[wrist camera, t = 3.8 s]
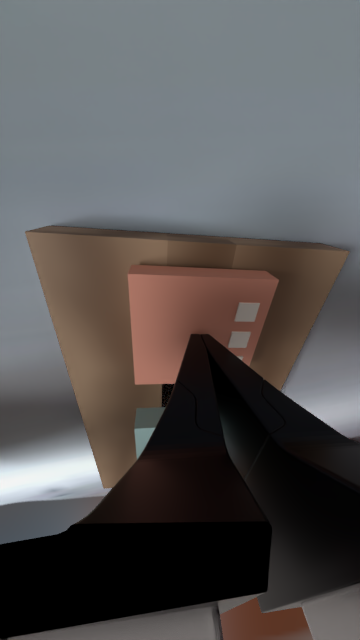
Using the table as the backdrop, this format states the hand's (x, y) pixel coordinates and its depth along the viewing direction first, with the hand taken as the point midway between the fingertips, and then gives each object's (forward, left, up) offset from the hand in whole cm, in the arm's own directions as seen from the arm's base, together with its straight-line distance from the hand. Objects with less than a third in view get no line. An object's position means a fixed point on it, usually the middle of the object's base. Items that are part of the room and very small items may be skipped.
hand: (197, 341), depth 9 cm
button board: (0, -8, -4) cm, 9 cm away
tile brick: (0, 0, -3) cm, 3 cm away
